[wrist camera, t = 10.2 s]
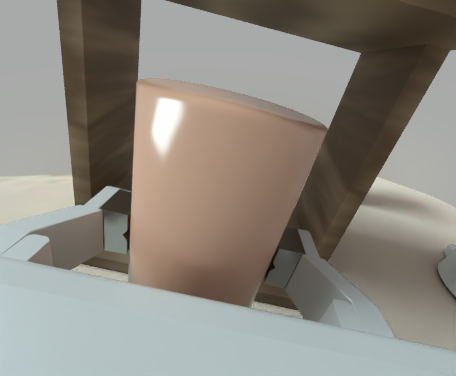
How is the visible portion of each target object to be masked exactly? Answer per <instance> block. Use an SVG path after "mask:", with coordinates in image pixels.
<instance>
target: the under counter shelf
mask: <svg viewBox="0 0 456 376" xmlns="http://www.w3.org/2000/svg"><path fill="white" fill-rule="evenodd" d="M166 1H170V2H174V3H177V4H181V5H185V6H189V7H192V8H196V9H200V10H203V11H207V12H211V13H214V14H218V15H222V16H226V17H230V18H233V19H237V20H241V21H244V22H248V23H252V24H255V25H259V26H263V27H266V28H270V29H274V30H278V31H282V32H285V33H289V34H292V35H296V36H300V37H304V38H307V39H311V40H315V41H319V42H322V43H326V44H330V45H334V46H337V47H341V48H344V49H348V50H352V51H356V52H360V53H361V55H360V57H359V60H358V62H357V64H356V66H355V69H354V71H353V74H352V76H351V78H350V81H349V83H348V85H347V87H346V90H345V92H344V95H343V97H342V99H341V101H340V104H339V106H338V108H337V111H336V113H335V115H334V118H333V120H332V122H331V125H330V127H329V129H328V131H327V134H326V136H325V138H324V141H323V143H322V145H321V148H320V150H319V152H318V155H317V157H316V159H315V162H314V164H313V166H312V169H311V171H310V173H309V176H308V178H307V180H306V183H305V185H304V187H303V190H302V192H301V194H300V197H299V199H298V201H297V204H296V206H295V208H294V209H293V212H292V214H291V216H290V219H289V221H288V223H287V225H286V227H290V228H295V229H301V230H306V231H309V232H310V234H311V237H312V239H313V242H314V244H315V247H316V249H317V252H318V254H319V256H320V258H322V259H324V260H326V261H328V260H329V258H330V256H331V255H332V253H333V251H334V249H335V248H336V246H337V244H338V242H339V241H340V239H341V237H342V236H343V234H344V232H345V230H346V229H347V227H348V225H349V224H350V222H351V220H352V218H353V217H354V215H355V213H356V212H357V210H358V208H359V206H360V205H361V203H362V201H363V199H364V198H365V196H366V194H367V193H368V191H369V189H370V187H371V186H372V184H373V182H374V181H375V179H376V177H377V175H378V174H379V172H380V170H381V169H382V166H383V165H384V163H385V162H386V160H387V158H388V156H389V155H390V153H391V151H392V150H393V148H394V146H395V144H396V142H397V141H398V139H399V138H400V136H401V134H402V132H403V131H404V129H405V127H406V126H407V124H408V122H409V120H410V119H411V117H412V115H413V114H414V112H415V110H416V108H417V107H418V105H419V103H420V102H421V100H422V98H423V96H424V95H425V93H426V91H427V89H428V88H429V86H430V84H431V83H432V81H433V79H434V77H435V76H436V74H437V72H438V71H439V69H440V67H441V65H442V64H443V62H444V60H445V58H446V57H447V55H448V53H449V52H450V50H456V0H166ZM57 7H58V18H59V30H60V41H61V52H62V64H63V75H64V86H65V97H66V108H67V120H68V130H69V142H70V153H71V165H72V176H73V187H74V198H75V206H76V205H83V206H84V205H85V204H86V203H87V202H88V201H90V200H91V199H92V198H93V197H94V196H95V195H97V194H98V193H99V192H100V191H101V190H103V189H104V188H105V187H106V186H112V187H116V188H121V189H125V190H129V191H132V176H133V153H134V130H135V106H136V83H137V81H138V59H139V38H140V17H141V0H57ZM82 264H87V265H91V266H96V267H101V268H105V269H110V270H115V271H119V272H124V273H128V270H129V251H128V253H127V254H122V253H117V252H112V251H106V250H103V252H101V253H99V254H98V255H96V256H94V257H92V258H91V259H89V260H87V261H85V262H84V263H82ZM254 301H259V302H264V303H268V304H273V305H278V306H282V307H287V308H292V309H296V310H298V309H297V307H296V306H295V304H294V303H293V301H292V300H291V298H290V297H289V295H288V294H287V292H286V291H285V289H283V288H279V287H275V286H271V285H267V284H264V278H263V281H262V283H261V285H260V287H259V290H258V292H257V294H256V297H255V299H254Z"/></svg>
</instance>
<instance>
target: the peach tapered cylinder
mask: <svg viewBox="0 0 456 376" xmlns="http://www.w3.org/2000/svg"><path fill="white" fill-rule="evenodd" d="M327 131H328V129H327V128H326V127H325V126H324V125H323V124H322V123H320V122H318V121H317V120H315V119H313V118H311V117H309V116H307V115H304V114H302V113H299V112H297V111H294V110H292V109H289V108H286V107H283V106H280V105H277V104H274V103H271V102H268V101H265V100H262V99H258V98H254V97H251V96H248V95H244V94H240V93H236V92H232V91H228V90H223V89H220V88H215V87H210V86H205V85H201V84H195V83H190V82H183V81H176V80H169V79H155V78H154V79H153V78H148V79H140V80H138V81H137V83H136V106H135V130H134V153H133V176H132V200H131V223H130V246H129V270H128V283H133V284H138V285H143V286H148V287H152V288H157V289H162V290H167V291H172V292H177V293H181V294H186V295H191V296H196V297H201V298H205V299H210V300H215V301H220V302H225V303H229V304H234V305H239V306H244V307H248V308H251V306H252V304H253V301H254V299H255V297H256V294H257V292H258V290H259V287H260V285H261V283H262V281H263V278H264V276H265V274H266V271H267V269H268V267H269V264H270V262H271V260H272V258H273V255H274V253H275V251H276V248H277V246H278V244H279V241H280V239H281V237H282V235H283V232H284V230H285V228H286V225H287V223H288V221H289V219H290V216H291V214H292V212H293V209H294V207H295V205H296V202H297V200H298V198H299V196H300V193H301V191H302V189H303V186H304V184H305V182H306V179H307V177H308V175H309V173H310V170H311V168H312V166H313V163H314V161H315V159H316V157H317V154H318V152H319V150H320V147H321V145H322V143H323V140H324V138H325V136H326V134H327Z"/></svg>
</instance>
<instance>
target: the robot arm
mask: <svg viewBox="0 0 456 376" xmlns="http://www.w3.org/2000/svg"><path fill="white" fill-rule="evenodd" d="M131 200H132V191H129V190H125V189H121V188H116V187H112V186H106V187H105V188H104V189H103V190H101V191H100V192H99V193H98V194H97V195H95V196H94V197H93V198H92V199H91V200H90V201H88V202H87V203H86V204H85V205H84V206H83V205H76V206H73V207H69V208H65V209H61V210H57V211H53V212H49V213H46V214H42V215H38V216H34V217H30V218H26V219H22V220H19V221H15V222H11V223H7V224H3V225H0V376H456V351H454V350H449V349H444V348H440V347H435V346H430V345H425V344H421V343H416V342H411V341H406V340H401V339H397V338H395V336H394V334H393V333H392V331H391V329H390V327H389V325H388V324H387V322H386V320H385V318H384V316H383V315H382V313H381V311H380V309H379V307H378V306H376V305H375V304H374V303H373V302H372V301H371V300H370V299H369V298H367V297H366V296H365V295H364V294H363V293H362V292H361V291H359V290H358V289H357V288H356V287H355V286H354V285H353V284H352V283H350V282H349V281H348V280H347V279H346V278H345V277H344V276H343V275H341V274H340V273H339V272H338V271H337V270H336V269H335V268H333V267H332V266H331V265H330V264H329V263H328V262H327V261H326V260H324V259H322V258H320V256H319V254H318V252H317V249H316V247H315V244H314V242H313V239H312V237H311V234H310V232H309V231H306V230H301V229H295V228H290V227H286V228H285V230H284V232H283V235H282V237H281V239H280V241H279V244H278V246H277V248H276V251H275V253H274V255H273V258H272V260H271V262H270V264H269V267H268V269H267V271H266V274H265V276H264V284H267V285H271V286H275V287H279V288H283V289H285V291H286V292H287V294H288V295H289V297H290V298H291V300H292V301H293V303H294V304H295V306H296V307H297V309H298V310H299V312H300V313H301V315H302V316H303V318H304V319H300V318H296V317H291V316H286V315H281V314H277V313H272V312H267V311H263V310H258V309H253V308H248V307H244V306H239V305H234V304H229V303H225V302H220V301H215V300H210V299H205V298H201V297H196V296H191V295H186V294H181V293H177V292H172V291H167V290H162V289H157V288H152V287H148V286H143V285H138V284H133V283H128V282H124V281H119V280H114V279H109V278H105V277H100V276H95V275H90V274H85V273H81V272H76V271H71V269H73V268H75V267H76V266H78V265H80V264H82V263H84V262H85V261H87V260H89V259H91V258H92V257H94V256H96V255H98V254H99V253H101V252H103V250H106V251H112V252H117V253H122V254H127V253H128V251H129V246H130V223H131ZM444 253H445V256H446V258H445V259H443V260H442V261H440V262H439V264H438V272H439V274H440V277H441V278H442V280H443V282H444V283H445V285H446V286H447V287H448V289H449V290H450V291H451V292H452V294H453V295H454V296H455V297H456V245H452V244H451V245H449V246H448V247H447V248H446V249H445V250H444Z"/></svg>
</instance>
